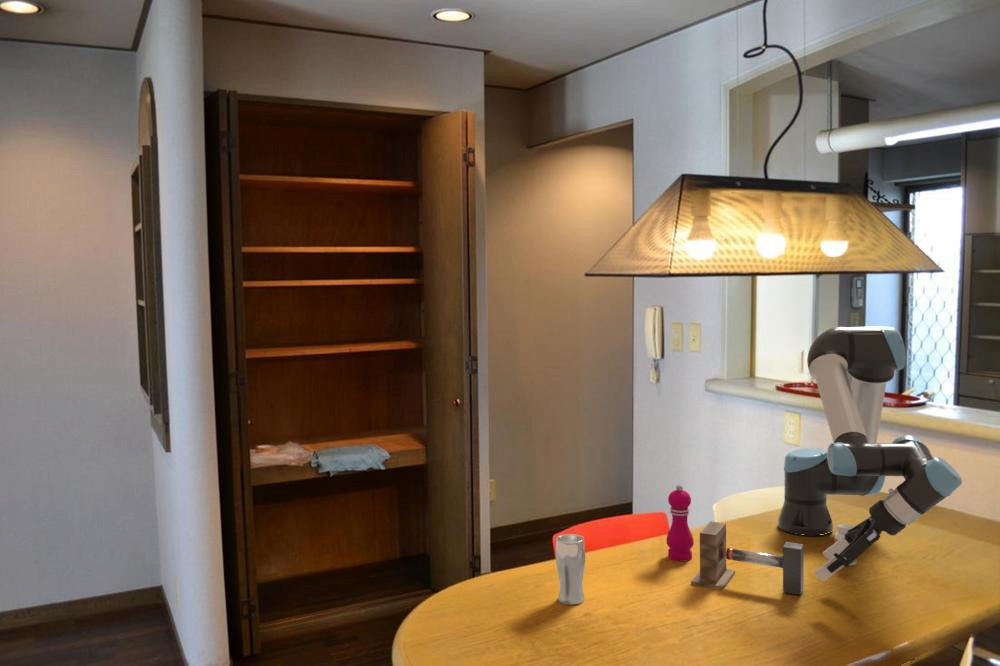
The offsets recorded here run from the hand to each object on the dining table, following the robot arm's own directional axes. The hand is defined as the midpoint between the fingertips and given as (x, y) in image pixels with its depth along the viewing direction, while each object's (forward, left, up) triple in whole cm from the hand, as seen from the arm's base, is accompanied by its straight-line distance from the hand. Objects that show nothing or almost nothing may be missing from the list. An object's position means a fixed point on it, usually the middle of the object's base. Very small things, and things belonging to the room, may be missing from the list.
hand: (822, 567), depth 184 cm
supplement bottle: (-18, -18, -7) cm, 27 cm away
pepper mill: (+22, -32, -7) cm, 40 cm away
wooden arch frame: (+20, -16, -7) cm, 27 cm away
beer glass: (+58, -12, -7) cm, 59 cm away
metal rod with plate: (+10, -8, -7) cm, 15 cm away
